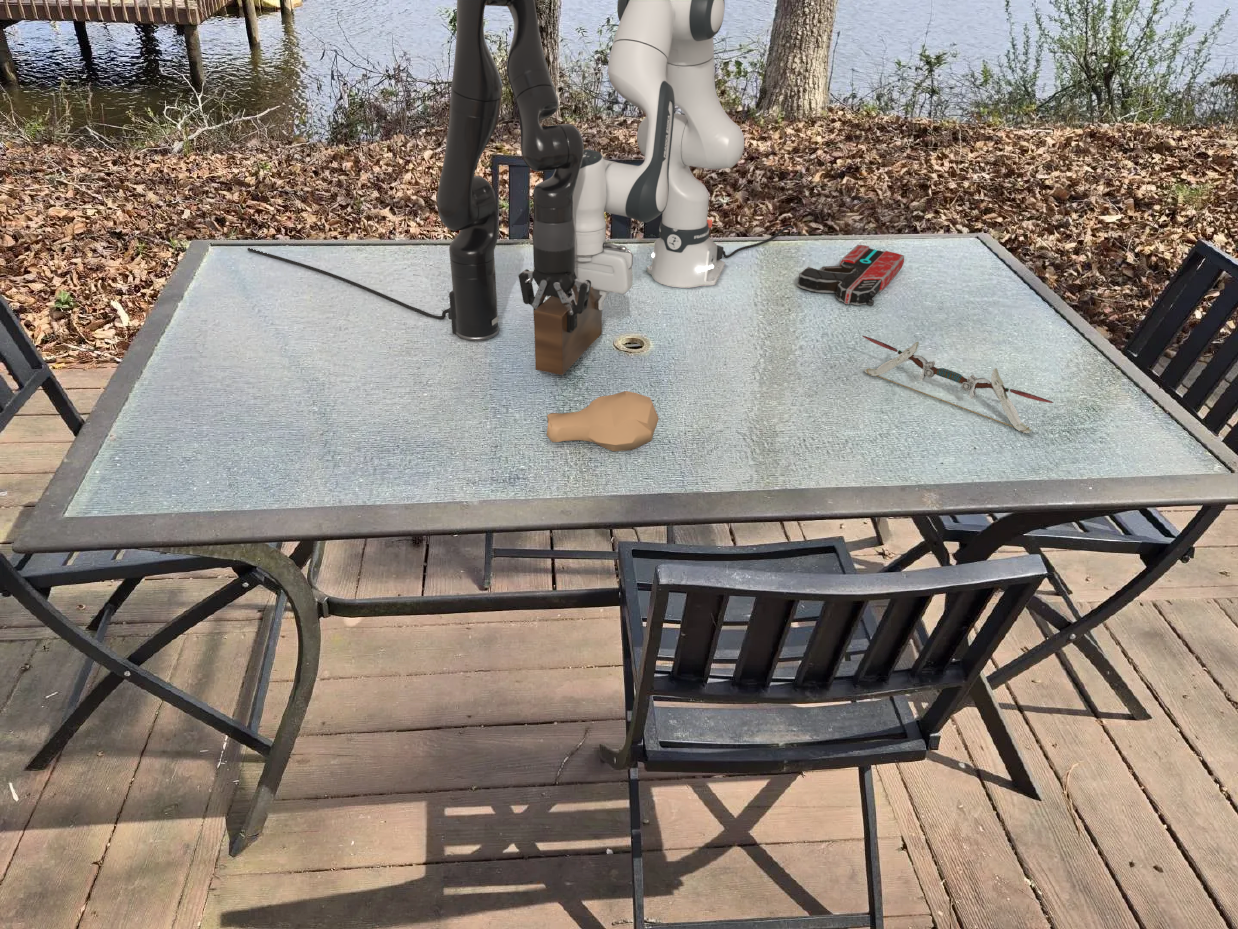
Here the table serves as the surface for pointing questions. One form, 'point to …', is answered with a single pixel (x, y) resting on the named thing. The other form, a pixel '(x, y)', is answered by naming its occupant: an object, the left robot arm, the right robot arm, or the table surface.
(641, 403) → the squash
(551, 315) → the box
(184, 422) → the table surface
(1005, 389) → the bow
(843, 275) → the gun
